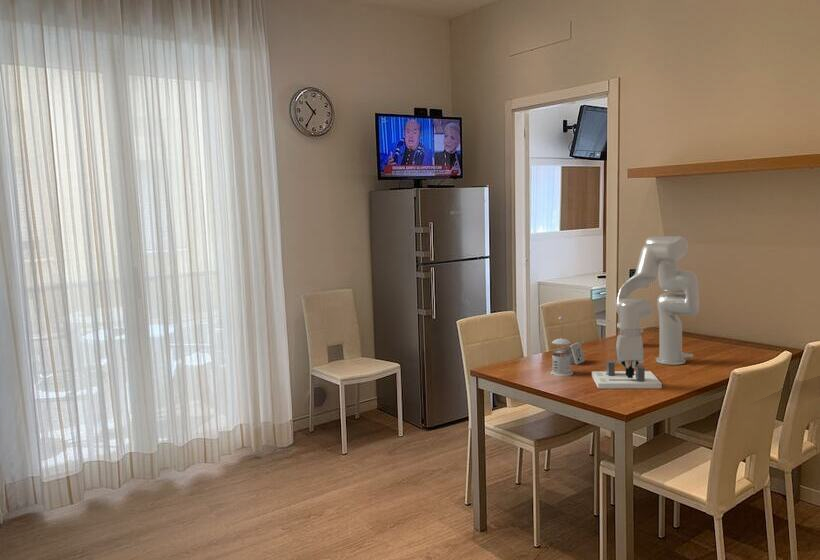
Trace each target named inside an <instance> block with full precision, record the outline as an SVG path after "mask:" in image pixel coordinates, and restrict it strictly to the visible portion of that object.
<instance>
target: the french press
mask: <svg viewBox="0 0 820 560" xmlns="http://www.w3.org/2000/svg"><path fill="white" fill-rule="evenodd" d="M563 319H564V317H562V316H559V317H558V320H559V321H562V320H563ZM551 344H553V345H555V346H558V349H554V350H553V351H552V353H553V354H552V355H551V357H552V359H551V360H552V362H551V363H552V364H551V365H552V371H550V374H551V375H552V374H553V375H552V376H556V375H557V376H558V377H566V376H567V377H568V376H572V375H574V372H573V371H572V364H571V355H570V354H571V353H570V354H568V353H569V352H570V351H569V350H566V349H564V346H568V345H569V346H570V345H571V341H570V340H568V339H566V338H562V337H560V338H557V339H554V340H553V341H551ZM557 376H556V377H557Z"/></svg>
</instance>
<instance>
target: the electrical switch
mask: <svg viewBox="0 0 820 560" xmlns="http://www.w3.org/2000/svg"><path fill="white" fill-rule="evenodd" d="M565 350H569V351H570V352H569V353H568V354H570V355H571V365H573V364H575V365H576V366H577V365H578V366H579V365H580V364H582V363H584V362H585V361H586V357H585V354H584V351H583V347H582V344H581V342H580V341H576V342H575V343H573V344H569V346H567V347H565Z"/></svg>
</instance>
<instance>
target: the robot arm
mask: <svg viewBox="0 0 820 560" xmlns="http://www.w3.org/2000/svg"><path fill="white" fill-rule="evenodd" d="M688 243H689V242H688V240H687V239H686V237H683V236H681V235H679V236H676V235H675V236H674V235H673V236H671V235H670V236H669V235H668V236H663V235H662V236H661V235H660V236H658V235H657V236H650V237H647V238H646V240H645V241H644V245H643V246H642V247H641V250H640V253H639V258H638V261H637V264H636V265H637V266H636V268H635V272H634V274H633V275H632V276H631V277H630V278H628V279H627V280H626V281H625V282H624V283H623V284H622V285H621V286H620V288H619V291H618V293H617V297H616V300H615V307H614V308H615V311H616V313H617V314H618V315H619V322H620V335H619V334H618V335H617V338H616V342H615V343H616V345H615V357H616V358H615V362H616V364H620V365H622V366H623V367H624V368H625V371H626V376H627V377H628V378H633V376H634V371H635V369H636V366H637V365H641V364H643V363H645V360H644V343H643V337H642V333H644V329H643V328H640V319H641V318H642V319H643V318H648V317H649V316H651V314H652V313H653V309H654V306H653V303H652V301H650V300H649V299H645V298H636V297H635V298H634V297H629V296H630V295H631V293H632V292H633V293H634V291H636V290H637V289H641V288H642V287H645V286H648V285H650V284H653V283H654V282H655V281H656V280H657V278H658V285H659V288H660V289H661V290H662V291H665V293H664V292H663V293H661V294H659V296H658V297H657V300H656V305H657V310H658V317H659V318H658V319H659V322H658V323H659V324H658V325H659V330H658V333H659V335H658V336H659V338H658V339H659V342H658V343H659V344H658V346H659V347H658V348H659V351H658V352H659V353H658V354H659V356H657V357H656V358H655V362H656V363H658V364H661V365H667V366H668V365H670V366H675V365H676V366H678V365H684V364H686V363H687V362H686V359H694V353H684V351H683V322H682V320H681V319H680V317H679V316H695V315H697V314H698V313H699V311H700V293H699V280H698V277H697V274H696V273H695V272H694V271H692V270H684V269H683V270H682V269H679V263H678V261H679V260H681V259H682V258H683V257H684V256H685V255H686V254H687V252H688V248H689V244H688ZM678 315H679V316H678ZM629 362H630V365H629Z"/></svg>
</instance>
